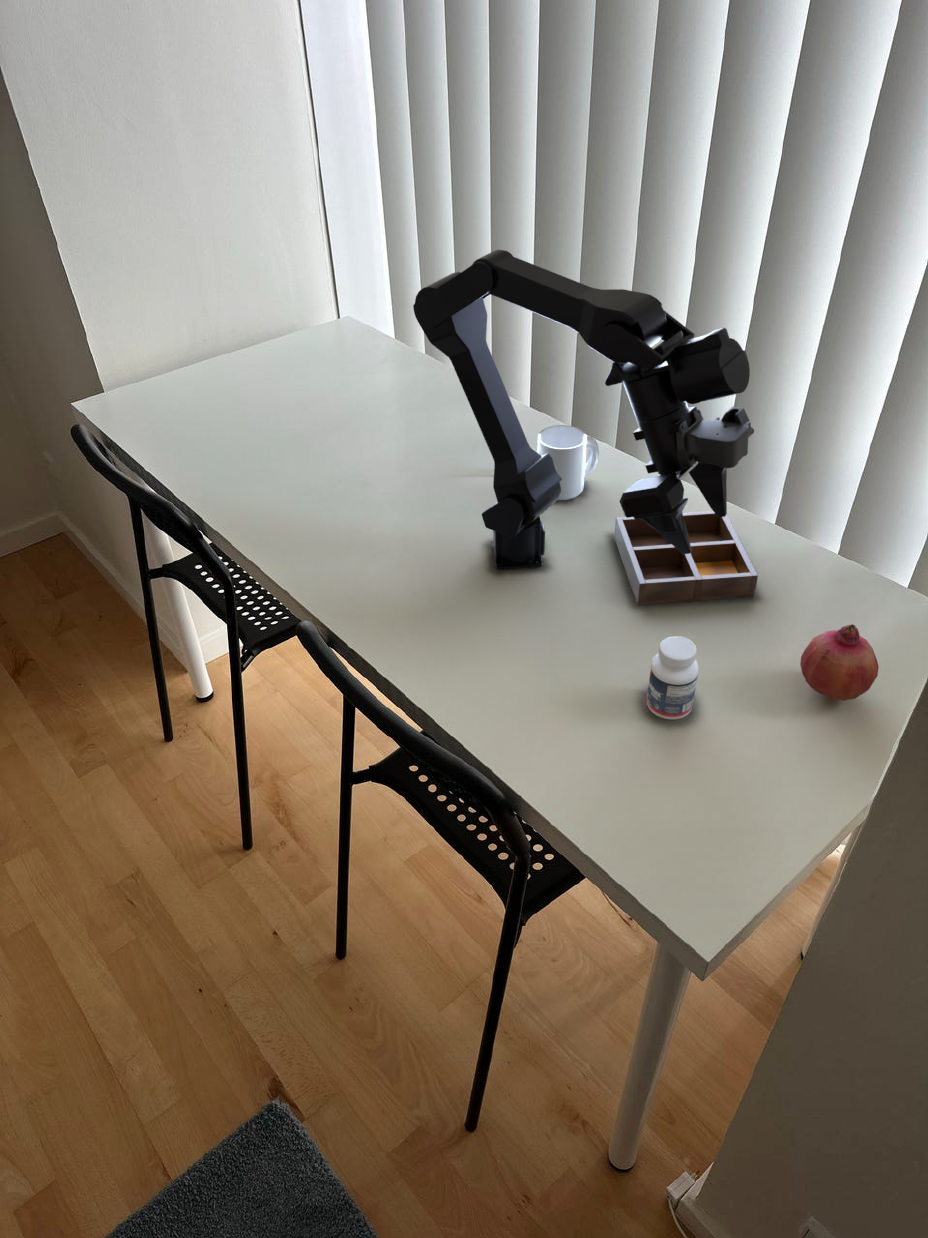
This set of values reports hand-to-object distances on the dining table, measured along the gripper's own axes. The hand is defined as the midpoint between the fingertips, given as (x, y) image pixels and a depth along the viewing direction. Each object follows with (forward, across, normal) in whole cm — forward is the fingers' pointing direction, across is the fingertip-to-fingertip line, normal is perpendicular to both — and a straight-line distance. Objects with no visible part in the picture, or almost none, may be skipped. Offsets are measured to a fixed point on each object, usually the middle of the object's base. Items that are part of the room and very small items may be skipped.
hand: (705, 534), depth 111 cm
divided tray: (+9, +11, +13) cm, 19 cm away
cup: (-2, +19, +33) cm, 39 cm away
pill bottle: (+15, -14, +3) cm, 20 cm away
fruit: (+21, -2, -10) cm, 23 cm away
